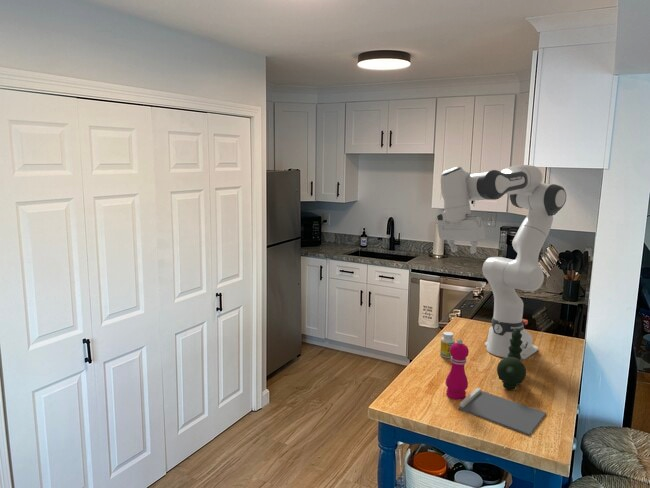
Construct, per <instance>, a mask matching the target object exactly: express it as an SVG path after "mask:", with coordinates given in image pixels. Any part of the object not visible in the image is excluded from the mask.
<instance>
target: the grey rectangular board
mask: <svg viewBox="0 0 650 488" xmlns="http://www.w3.org/2000/svg"><path fill="white" fill-rule="evenodd" d="M457 408H458V410H459V411H462V412H465V413H467V414H469V415H473V416H475V417H478V418H480V419H483V420H486V421H489V422H491V423H494V424H495V425H500V426H502V427H505V428H506V429H507V428H508V429H509V430H510V429H511V430H513V431H515V432H518V433H521V434H524V435H525V436H528V437H529V436H531V435H532V434H533V432H534V430H535V429H536V428H537V427H538V425H540V423H541V421H542V420H543V419H544V418H545V416H546V415H547V412H545V411H543V410H540V409H537V408H534V407H532V406H528V405H525V404H522V403H519V402H517V401H513V400H510V399H507V398H504V397H501V396H498V395H496V394H494V393H493V394H492V393H489V392H486V391H483V390H481V392H480V393H479V394H478V395H477V396H476V397H474V398H473V399H472V400H471V401H470V402H469V403H468V404H467V405H465V406H464V407H460V405H459V406H458V407H457Z"/></svg>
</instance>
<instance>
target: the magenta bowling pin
mask: <svg viewBox="0 0 650 488" xmlns="http://www.w3.org/2000/svg"><path fill="white" fill-rule="evenodd" d="M450 354H451V355H452V356H451V358H450V362H451V367H450V370H449V372H448V374H447V376H446V378H445V385H446V393H445V394H446V396H447V397H448V398H450V399H451V400H456V401H461V400H462V401H463V400H464V399H465V398H466V397H467V396H466V395H467V392H466V390H467V389H468V388H469V387H468V386H469V383H468V382H469V381H468V377H467V375H466V371H465V364H467V357H468V356H469V348H468V346H467V345H466V344H464V342H463V339H462V338H461V339H460V338H459V339H457V341H456V342H455V343H454V344H453V345H452V346H451V347H450Z"/></svg>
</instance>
